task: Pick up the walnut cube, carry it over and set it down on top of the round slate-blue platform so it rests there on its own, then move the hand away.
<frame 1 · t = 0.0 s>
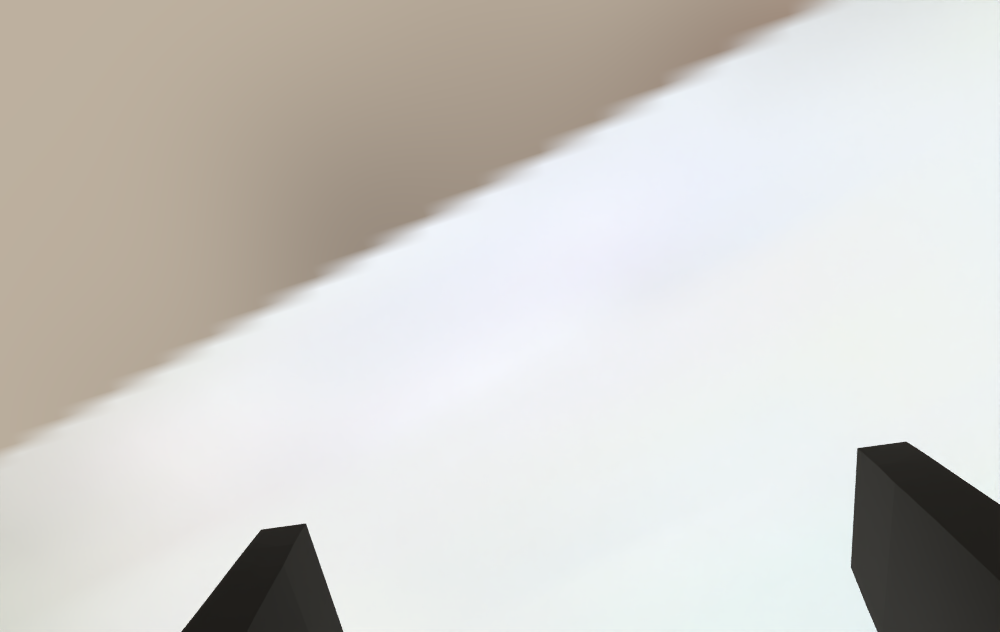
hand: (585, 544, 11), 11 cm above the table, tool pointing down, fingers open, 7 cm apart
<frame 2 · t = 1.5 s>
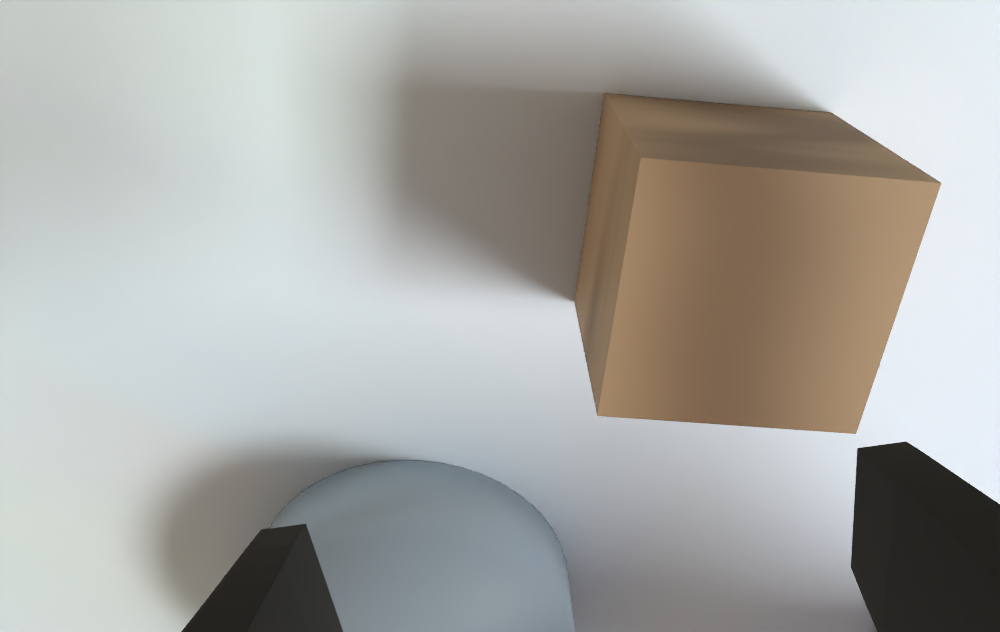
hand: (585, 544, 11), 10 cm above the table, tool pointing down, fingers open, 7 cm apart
platform: (414, 580, 24), on the table
cube: (695, 211, 19), on the table
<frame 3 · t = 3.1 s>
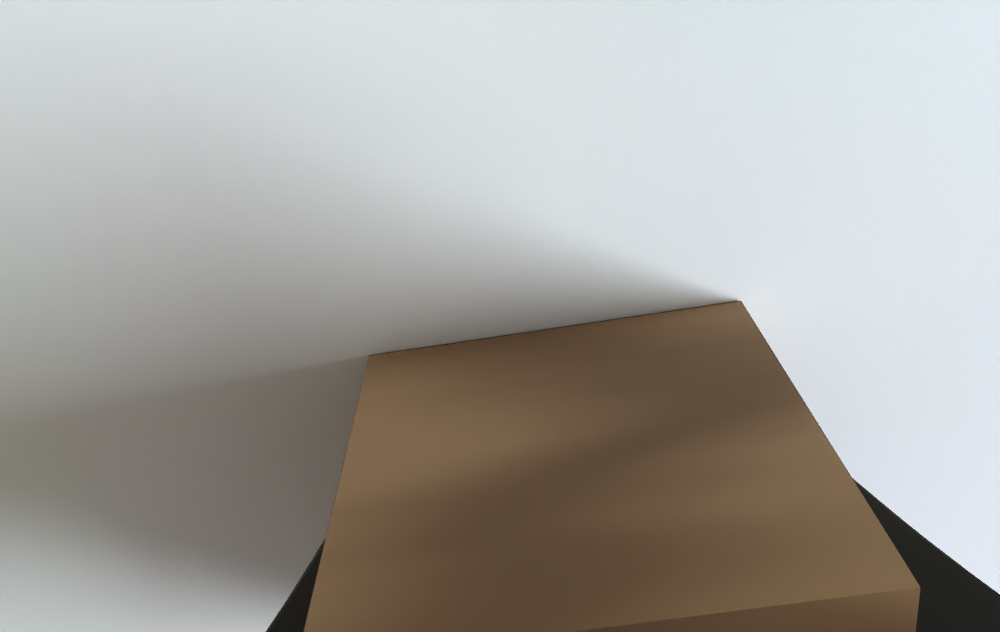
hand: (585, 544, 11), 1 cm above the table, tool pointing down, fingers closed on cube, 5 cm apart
cube: (574, 476, 12), on the table, touching gripper
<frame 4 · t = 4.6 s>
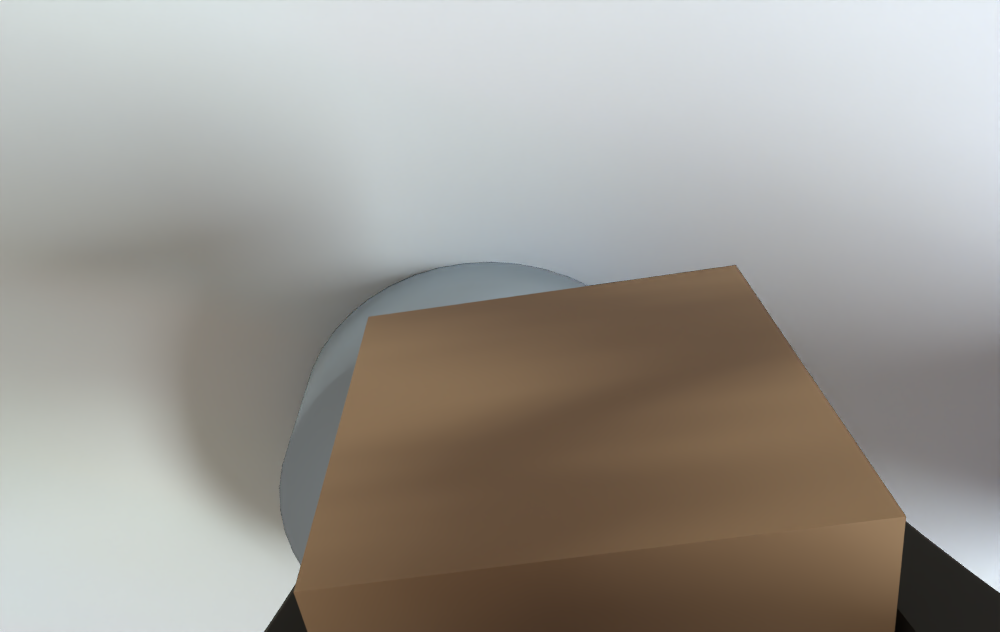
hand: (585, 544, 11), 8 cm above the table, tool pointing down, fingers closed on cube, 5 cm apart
platform: (488, 427, 20), on the table
cube: (569, 441, 12), point 7 cm above the table, touching gripper
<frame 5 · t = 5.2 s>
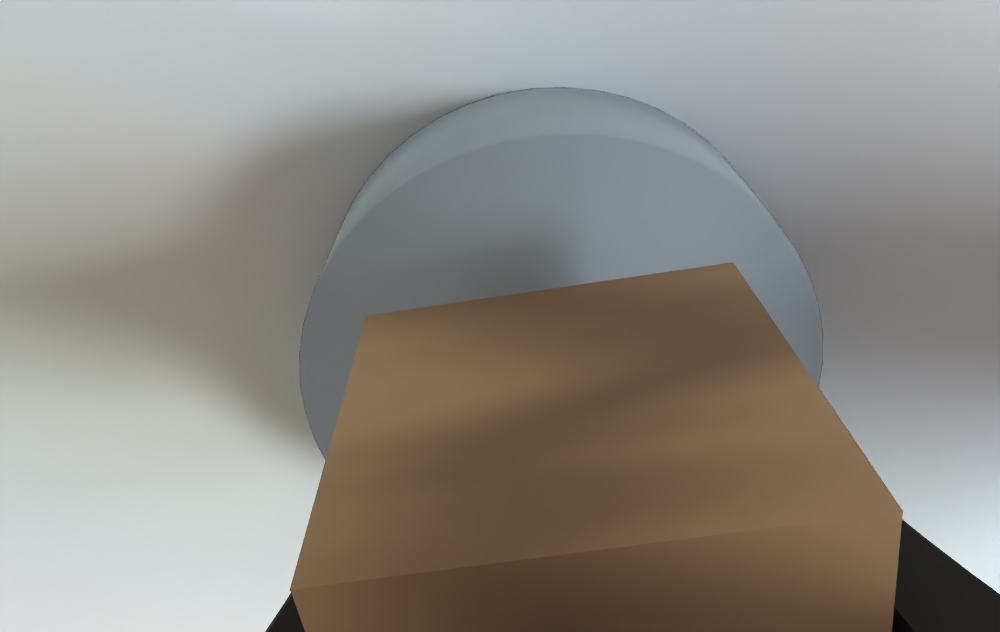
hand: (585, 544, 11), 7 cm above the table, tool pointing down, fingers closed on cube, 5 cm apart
platform: (549, 307, 17), on the table
cube: (568, 439, 12), point 5 cm above the table, touching gripper
when the fingers open (5 cm above the table, at t = 5.9 s): cube moves 1 cm, resting on platform.
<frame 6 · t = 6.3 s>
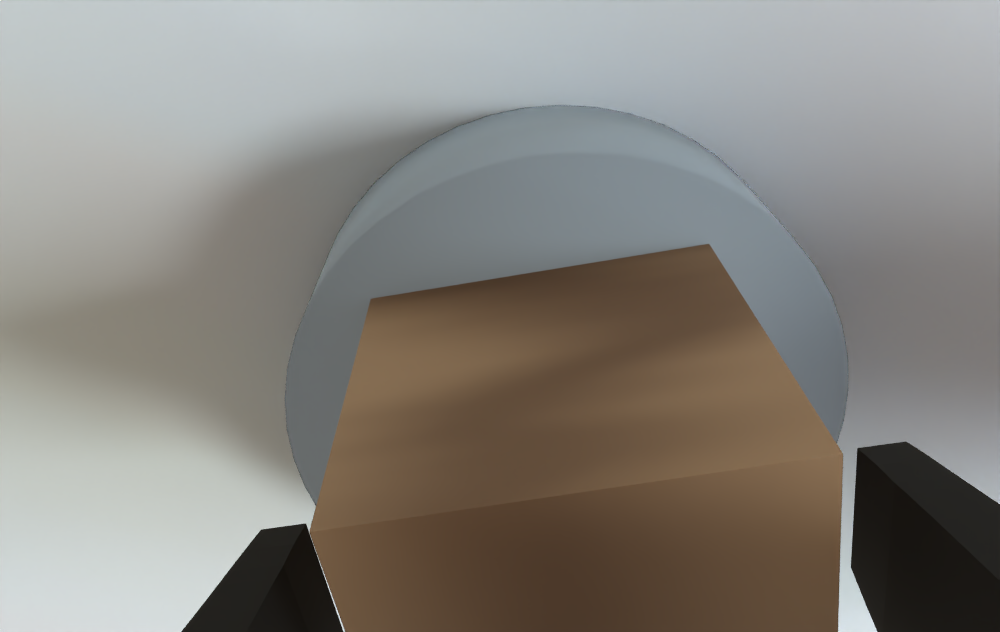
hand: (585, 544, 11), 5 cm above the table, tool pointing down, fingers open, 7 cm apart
platform: (552, 334, 16), on the table, touching cube
cube: (560, 410, 13), point 3 cm above the table, touching platform
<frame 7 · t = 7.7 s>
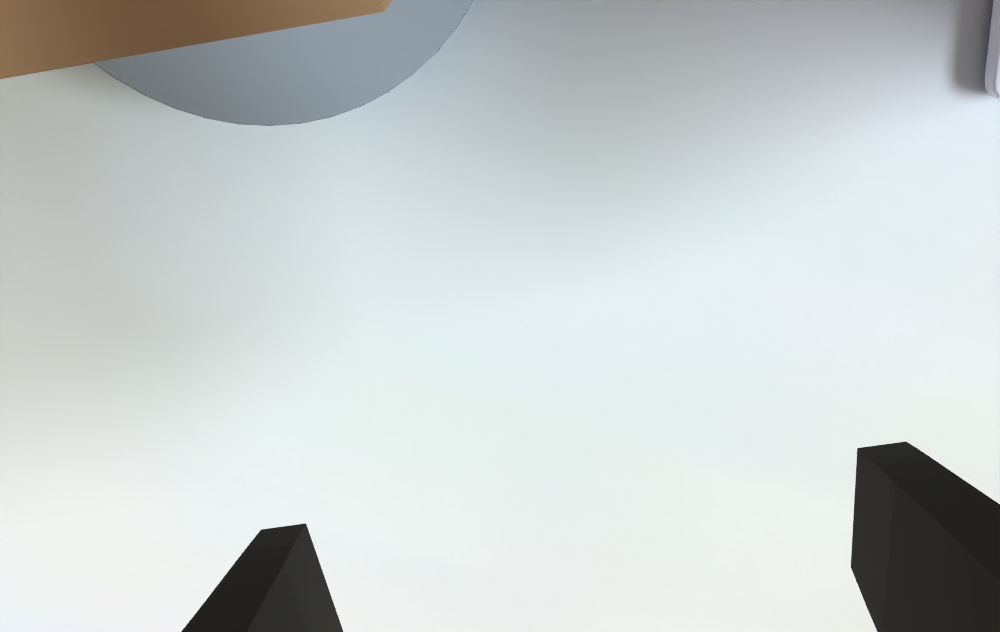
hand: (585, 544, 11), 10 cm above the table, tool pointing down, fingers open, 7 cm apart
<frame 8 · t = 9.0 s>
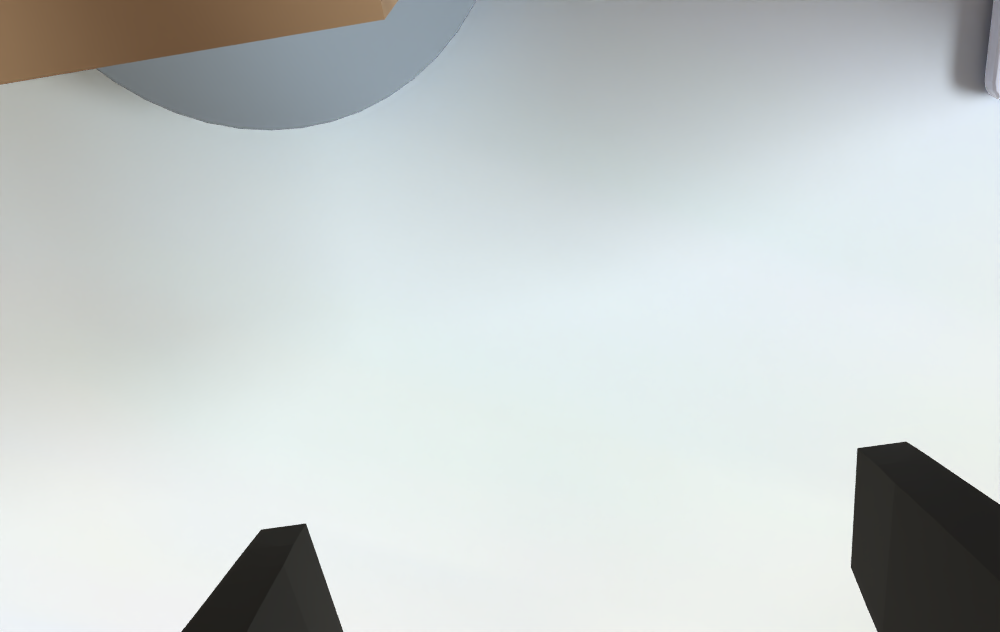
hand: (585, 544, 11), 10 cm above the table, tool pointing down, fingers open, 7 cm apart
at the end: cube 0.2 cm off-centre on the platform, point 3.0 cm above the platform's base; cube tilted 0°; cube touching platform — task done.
